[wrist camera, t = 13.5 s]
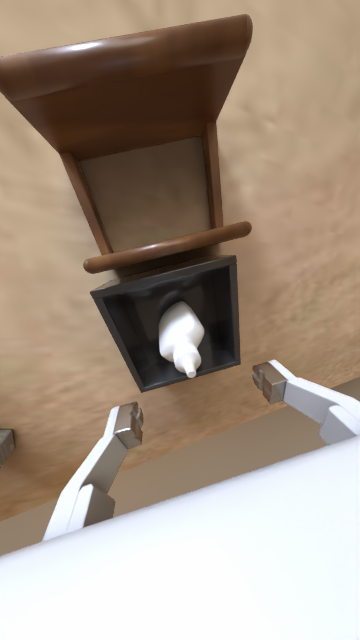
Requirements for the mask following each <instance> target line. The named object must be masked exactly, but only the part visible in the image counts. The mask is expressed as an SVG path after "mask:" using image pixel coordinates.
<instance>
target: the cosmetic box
mask: <svg viewBox="0 0 360 640" xmlns="http://www.w3.org/2000/svg"><path fill="white" fill-rule="evenodd" d="M14 449H15V444H14V440H13V434H12V430H11V429H0V468H1V466H2V465H3V464H4V462H5V461H6V460H7V458H8V457H9V455H10V454H11V453H12V451H13V450H14Z"/></svg>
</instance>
